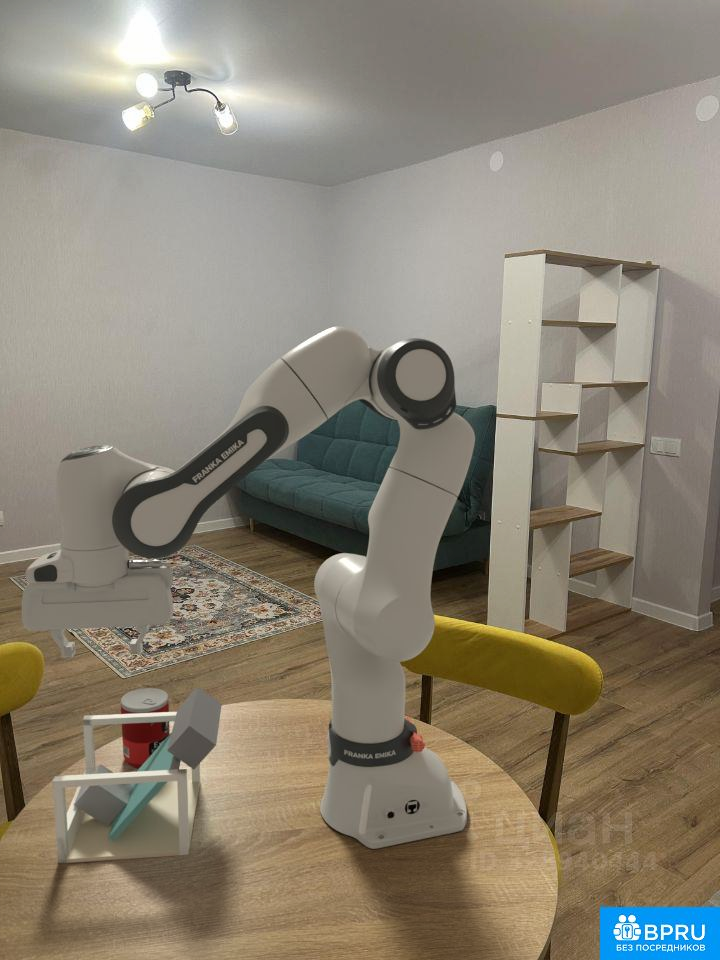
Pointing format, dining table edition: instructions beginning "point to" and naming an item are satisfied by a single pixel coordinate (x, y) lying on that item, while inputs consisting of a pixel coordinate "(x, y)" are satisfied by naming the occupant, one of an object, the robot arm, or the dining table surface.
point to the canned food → (143, 725)
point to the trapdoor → (175, 752)
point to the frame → (153, 828)
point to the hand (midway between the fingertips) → (102, 654)
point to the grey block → (103, 799)
